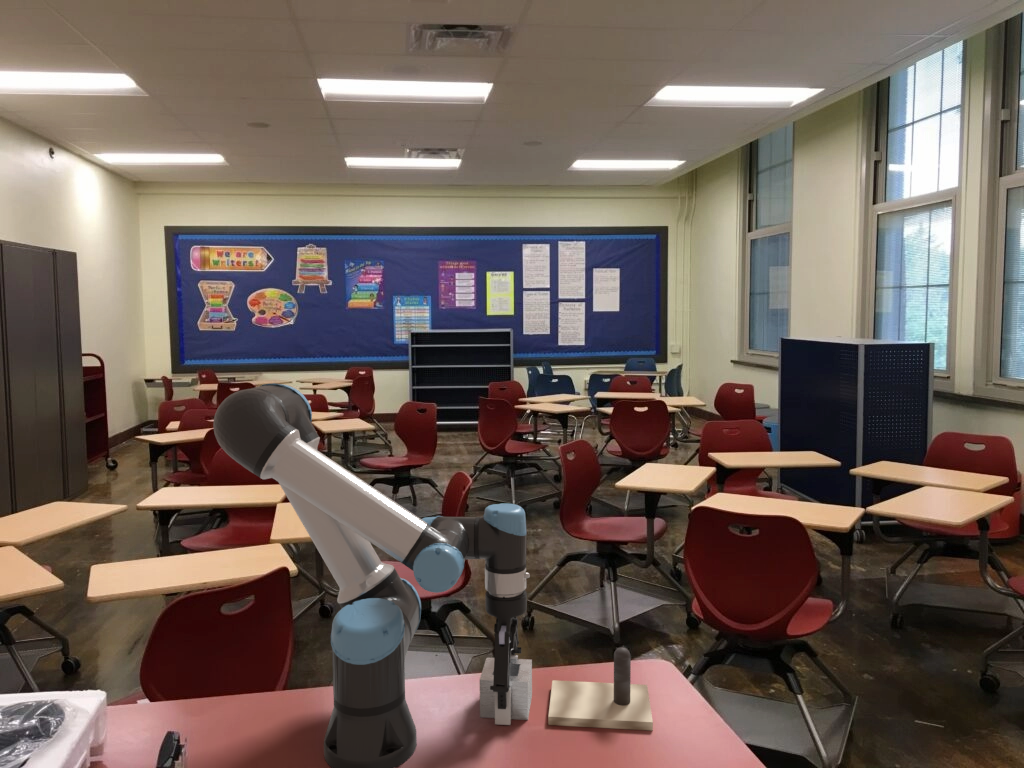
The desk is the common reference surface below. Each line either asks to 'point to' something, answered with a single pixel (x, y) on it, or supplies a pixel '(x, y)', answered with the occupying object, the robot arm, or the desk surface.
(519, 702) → the gray cube
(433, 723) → the desk surface
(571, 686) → the board
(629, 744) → the desk surface
